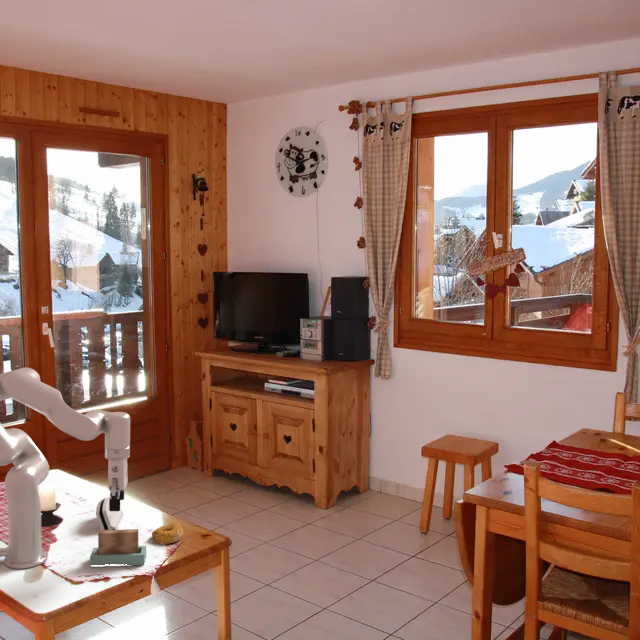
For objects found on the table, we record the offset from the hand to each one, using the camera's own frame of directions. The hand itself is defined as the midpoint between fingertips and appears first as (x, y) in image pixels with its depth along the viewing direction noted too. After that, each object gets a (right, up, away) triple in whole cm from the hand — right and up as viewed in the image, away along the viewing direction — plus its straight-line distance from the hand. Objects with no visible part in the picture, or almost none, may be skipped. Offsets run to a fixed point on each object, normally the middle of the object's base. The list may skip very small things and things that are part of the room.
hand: (116, 505), depth 234 cm
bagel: (+12, -17, +21) cm, 29 cm away
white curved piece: (-12, -15, +33) cm, 38 cm away
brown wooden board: (0, -17, +2) cm, 18 cm away
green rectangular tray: (0, -18, +2) cm, 19 cm away
